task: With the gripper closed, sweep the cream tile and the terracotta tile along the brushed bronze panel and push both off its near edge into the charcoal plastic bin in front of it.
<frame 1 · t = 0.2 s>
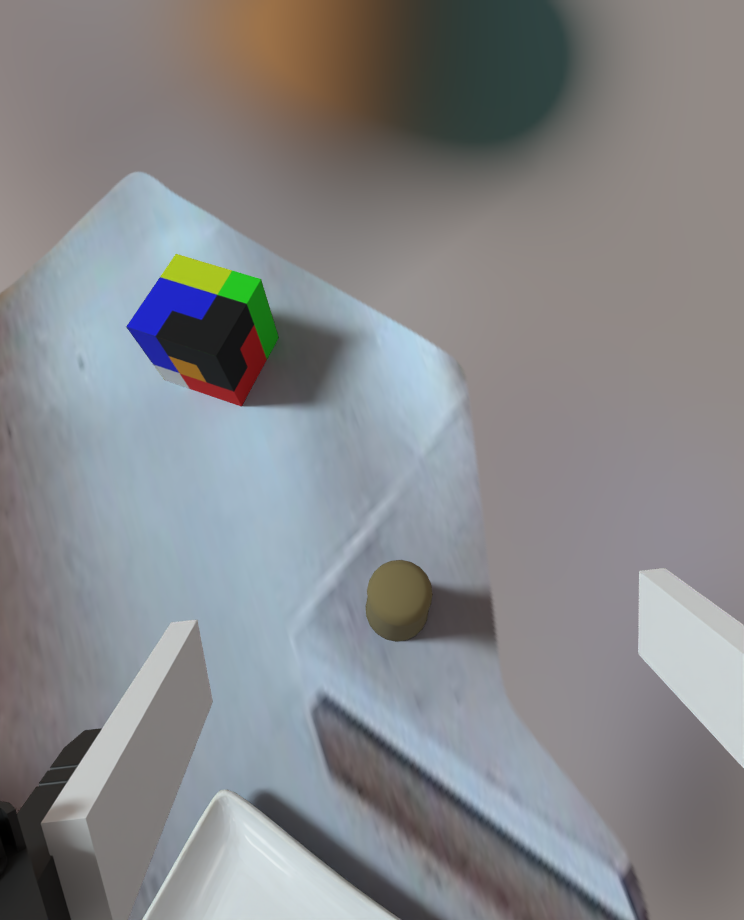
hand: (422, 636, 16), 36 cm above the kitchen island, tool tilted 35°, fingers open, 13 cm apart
puzzle toy: (223, 359, 63), on the kitchen island
cork: (396, 608, 51), on the kitchen island
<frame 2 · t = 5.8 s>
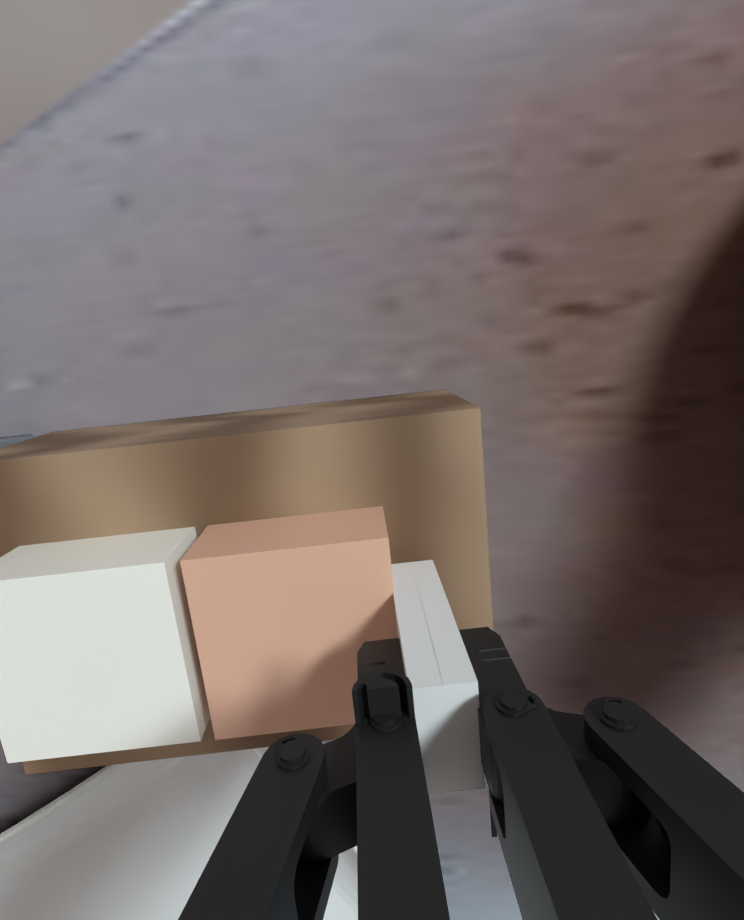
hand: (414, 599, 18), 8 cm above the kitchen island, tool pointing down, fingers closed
cream tile: (125, 616, 19), point 7 cm above the kitchen island, touching brushed bronze panel
brushed bronze panel: (269, 533, 26), on the kitchen island
terracotta tile: (306, 595, 19), point 7 cm above the kitchen island, touching gripper
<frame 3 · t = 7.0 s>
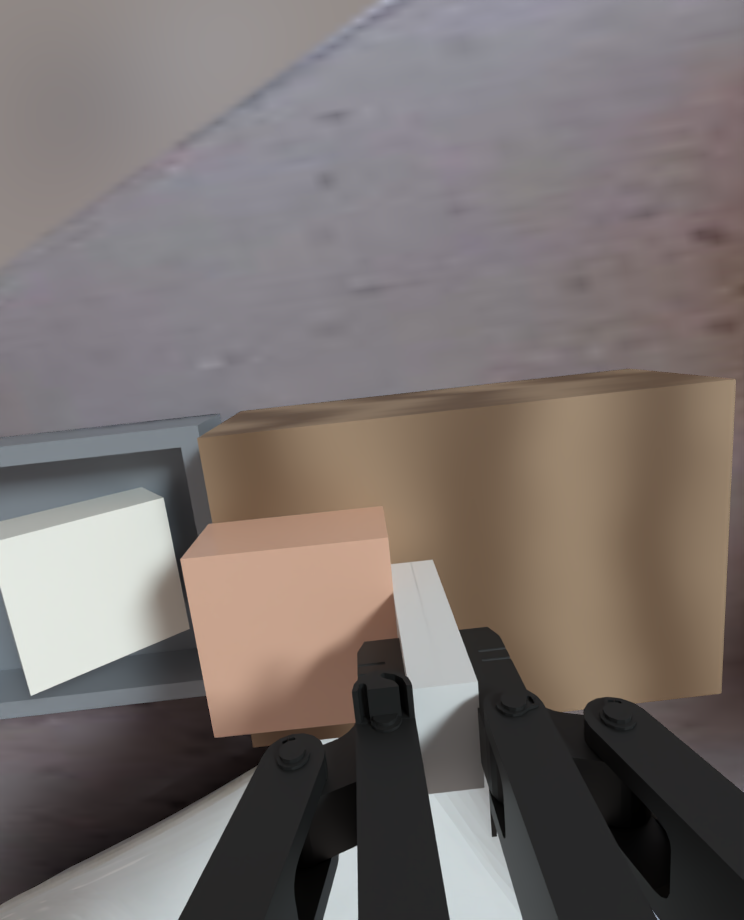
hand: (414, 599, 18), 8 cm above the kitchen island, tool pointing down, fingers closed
cream tile: (100, 591, 21), point 5 cm above the kitchen island, tilted 142°
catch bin: (95, 552, 26), on the kitchen island
square plate: (340, 906, 31), on the kitchen island
brushed bronze panel: (445, 513, 26), on the kitchen island
terracotta tile: (306, 594, 19), point 7 cm above the kitchen island, touching gripper, brushed bronze panel
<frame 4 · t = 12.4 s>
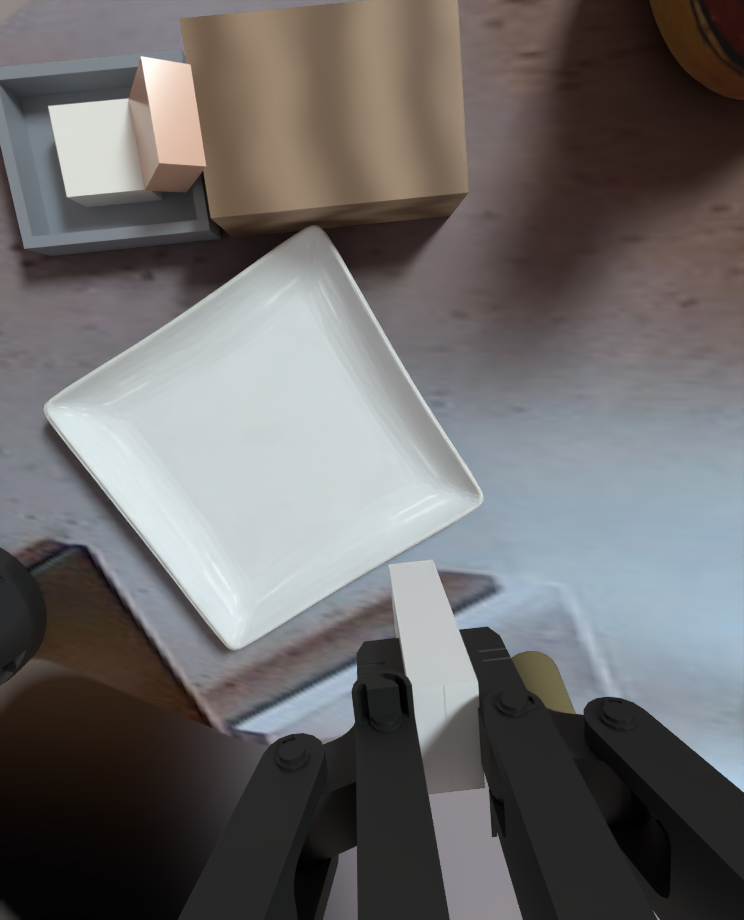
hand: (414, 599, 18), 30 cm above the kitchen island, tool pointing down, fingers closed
cream tile: (99, 148, 38), point 4 cm above the kitchen island, tilted 180°, touching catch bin, terracotta tile
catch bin: (120, 167, 42), on the kitchen island
cork: (528, 676, 54), on the kitchen island
square plate: (276, 448, 48), on the kitchen island
brushed bronze panel: (333, 146, 42), on the kitchen island
terracotta tile: (188, 134, 37), point 5 cm above the kitchen island, tilted 61°, touching cream tile, brushed bronze panel
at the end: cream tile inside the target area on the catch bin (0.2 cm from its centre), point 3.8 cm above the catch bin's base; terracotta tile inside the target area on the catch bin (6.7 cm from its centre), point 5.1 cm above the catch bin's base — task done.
